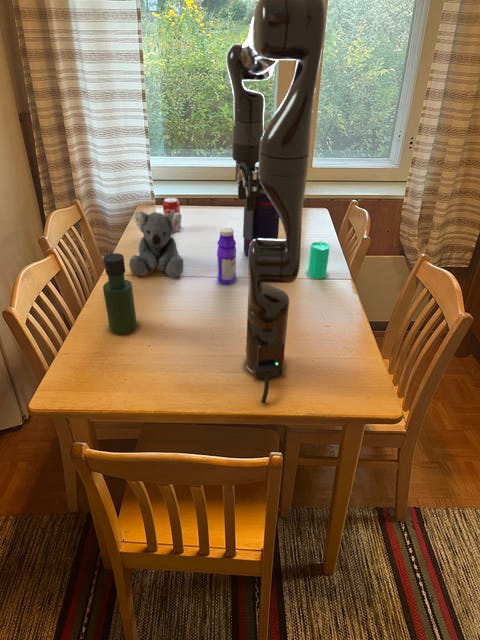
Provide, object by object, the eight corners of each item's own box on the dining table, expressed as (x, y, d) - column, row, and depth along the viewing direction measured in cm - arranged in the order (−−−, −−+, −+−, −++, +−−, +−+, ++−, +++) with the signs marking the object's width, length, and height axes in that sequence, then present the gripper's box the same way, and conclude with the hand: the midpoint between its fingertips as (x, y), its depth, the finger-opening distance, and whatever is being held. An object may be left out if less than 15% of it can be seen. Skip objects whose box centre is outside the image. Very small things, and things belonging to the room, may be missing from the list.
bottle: (232, 286, 148) (233, 235, 138) (215, 284, 149) (214, 233, 139) (237, 276, 154) (238, 225, 144) (220, 274, 155) (220, 223, 145)
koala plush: (128, 278, 151) (121, 220, 140) (138, 254, 166) (132, 199, 155) (183, 279, 151) (180, 221, 140) (187, 254, 166) (185, 200, 155)
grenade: (257, 243, 175) (260, 161, 158) (283, 253, 169) (290, 168, 152) (233, 256, 166) (234, 170, 149) (260, 266, 160) (264, 178, 143)
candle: (305, 276, 155) (308, 242, 148) (311, 268, 159) (315, 235, 152) (322, 280, 152) (326, 246, 146) (328, 272, 157) (333, 239, 150)
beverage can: (162, 227, 185) (160, 198, 179) (177, 225, 188) (176, 195, 181) (167, 233, 181) (165, 203, 174) (183, 231, 183) (181, 201, 176)
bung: (126, 283, 119) (123, 260, 115) (107, 284, 118) (103, 262, 114) (126, 274, 123) (123, 252, 119) (107, 275, 122) (103, 254, 118)
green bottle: (137, 333, 126) (130, 277, 117) (110, 336, 125) (100, 280, 115) (136, 318, 132) (129, 264, 123) (109, 321, 131) (100, 266, 121)
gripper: (226, 133, 119) (226, 196, 128) (240, 147, 108) (239, 215, 117) (254, 132, 121) (252, 194, 130) (271, 146, 109) (268, 213, 118)
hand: (246, 204), depth 123 cm, fingers open, 8 cm apart
